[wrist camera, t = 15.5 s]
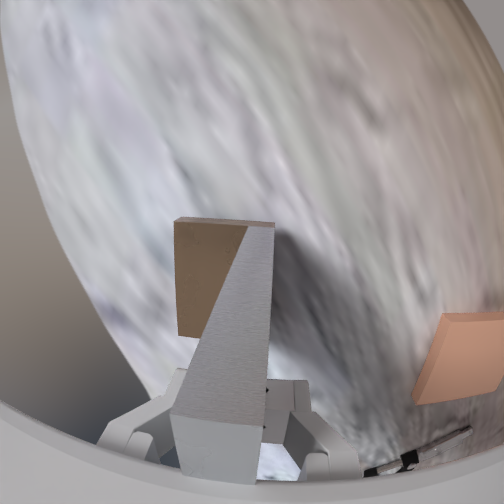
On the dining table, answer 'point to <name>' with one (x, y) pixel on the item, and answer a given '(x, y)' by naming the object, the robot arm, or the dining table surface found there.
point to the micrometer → (423, 452)
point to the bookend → (222, 345)
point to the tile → (463, 358)
